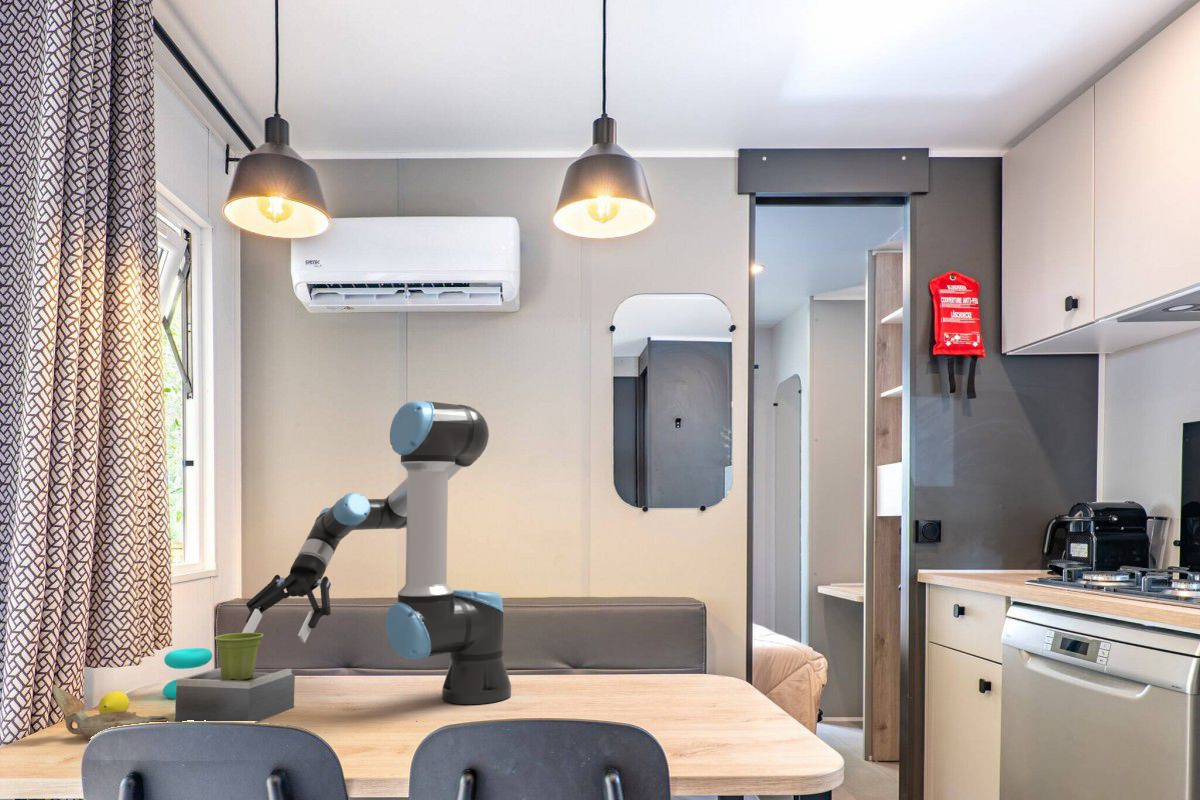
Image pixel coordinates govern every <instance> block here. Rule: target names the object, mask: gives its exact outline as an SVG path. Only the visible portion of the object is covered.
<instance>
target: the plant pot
mask: <svg viewBox="0 0 1200 800" xmlns="http://www.w3.org/2000/svg"><path fill="white" fill-rule="evenodd" d="M263 637H264V633H259V632H254V633H242V632H237V633H236V632H235V633H226V634H221V635H216V636H215V637H214V640H215V641H216V647H218V653H219V654H218V655H219V664H220V665H219V666H220V667H221V678H222V680H231V679H235V680H244V679H249V678H251V677H253V675H254V672H255V669H256V663H257V657H258V652H259V646H260V644H261V643H262V638H263ZM220 667H219V668H220Z"/></svg>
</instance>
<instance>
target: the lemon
mask: <svg viewBox="0 0 1200 800" xmlns="http://www.w3.org/2000/svg"><path fill="white" fill-rule="evenodd" d="M129 706H130V698H129V697H128V695H127V694H126V693H125V692H123V691H116V690H115V691H112V692H108V693H106V694H105V695H104V696H103V697H101V698H100V701H99V702H98V706H97V707H98V712H99V714H103V713H109V712H119V711H124V712H128V710H129V708H130V707H129Z"/></svg>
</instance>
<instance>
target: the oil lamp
mask: <svg viewBox="0 0 1200 800" xmlns="http://www.w3.org/2000/svg"><path fill="white" fill-rule="evenodd" d="M52 693H53V696H54V700H55V701H56V704H57V706H58V707H59V709H60V710H61V713H62V714H64V719H65V727H66V729H67V731H68V732H69V733H70V734H73V735H80V736H83V737H84V738H86V739H88V738H89V739H88V740H90V738H91V737H92V736H94V735H95V734H97V733H98V732H100V731H103V730H105V729H108V728H111V727H117V726H123V725H131V724H139V723H149V722H167V721H169V722H170V719H171V717H169V716H165V715H164V716H163V715H149V716H141V715H138V714H137V712H130V711H126V712H124V711H119V712H109V713H103V714H100V713H99V714H94V715H90V716H88V715H87V714H86V713H85V712H84V709H86V705H85V704H84V702H83V701H81V700H80V699H79V698H77V697H76V696H75V695H73V694H71V693H70V692H68V691H66V690H64V689H62V688H60V687H58V686H57V685H56V684H53V685H52ZM73 723H76V727H73Z"/></svg>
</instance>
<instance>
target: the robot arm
mask: <svg viewBox="0 0 1200 800" xmlns="http://www.w3.org/2000/svg"><path fill="white" fill-rule="evenodd" d="M489 435H490V434H489V426H488V423H487V421H486V418H485V417H484V416H483V415H482V414H481V413H480V412H479V411H478V410H477V409H476V408H474V407H471V406H469V405H465V404H453V403H445V402H436V401H428V400H422V401H419V400H418V401H417V400H414V401H409V402H406V403H404V404H403V405H401V406H400V407H399V409H398V411H397V412H396V413H395V415H394V416H393V418H392V421H391V424H390V428H389V444H390V445H391V449H392V450H393V451H394V453H396V454H398V455H399V456H400V465H401V466H402V467H403V468H404V469H405V470H406V472H407V477H406V478H405V479H403V481H402V482H401V483H400V484H399V485H398V486H397V487H395V489H394V490H393V491H392V492H391V493H390V494H389V495H387V497H385V498H367V497H366V496H365V495H364V494H360V493H359V492H357V491H356V492H353V491H352V492H349V493H346V494H345V495H344V496H342V497H341V498H340V499H338V500H337V501H336V502H335V504H333V505H332V506H331V507H326V508H324V509H322V510H321V511H320V513H319V515H318V516H317V517H316V519H315V520H314V523H313V526H312V527H311V530H309V533H308V535H307V537H306V539H305V540H304V542H303V544H302V546H301V548H300V550H299V552H298V553H297V556H296V558H294V561H293V563H292V565H291V567H290V570H289V574H288V575H287V576H286V577H281V576H280V574H276V575H274V577H273V578H272V579H271V581H270V582H269V583H267V585H266V586H265V587H264V588H262V589H261V590H260V591H258V592H257V594H255V595H254V596H253V597H252V598H251V599H250V600H249V601H248V602H246V604H245V606H246V607H247V609H248V610H249V614H248V616H247V618H246V619H245V622H246V625H245V626H244V627H243V630H242V632H241V633H255V631H256V629H257V628H258V625H259V623H260V621H261V620H262V618H263V615H262V613H264V612H265V611H267V610H269V609H271V607H272V606H274V605H276V604H278V603H279V602H280V601H282V600H284V599H285V600H286V599H288V598H289V597H291V598H292V597H293V598H294V597H295V598H296V597H299V598H304V596H307V599H308V601H309V602H310V605H311V607H312V610H309V612H308V613H307V616H306V618H305V620H304V622H303V624H301V625H302V626H301V627H300V630H299V632H298V634H297V637H298V638H299V640H300V642H301V643H302V644H306V642H307V639H308V638H309V635H310V634H311V631H312V629H315V628H316V627H317V625H318V623H319V621H320V618H321V617H323V616H327V617H328V616H330V615H331V614H332V612H331V601H330V587H331V585H332V584H331V581H330V579H329V578H328V576H324V574H326V573H325V572H326V570H327V568H328V566H329V564H330V562H331V560H332V558H333V556H334V554H335V551H336V550H337V548H338V546H339V544H340V542H341V541H342V540H343V539H344V538H345V537H347V535H349V534H350V533H351V532H352V531H361V530H362V531H364V530H366V531H367V530H385V529H387V530H390V529H395V530H400V529H405V528H406V542H405V543H406V544H405V545H406V546H405V547H406V548H405V552H406V554H405V584H404V585H403V587H402V588H401V589H400V590H398V592H397V602H395V603H394V604H392V605H391V606H390V607H389V608H388V612H387V613H386V616H385V631H386V636H387V638H388V643H389V644H390V646H391V647H392V649H393V651H394V652H395V654H397V655H398V656H400V657H401V658H403V659H406V660H416V659H421V660H422V659H423V660H424V659H426V658H428V657H429V658H430V657H435V656H440V655H446V654H450V662H449V665H448V670H447V673H446V676H445V678H444V682H443V685H442V688H441V689H442V690H441V692H442V695H441V699H442V700H443V701H444V702H446V703H450V704H457V705H480V704H481V705H482V704H488V703H489V704H490V703H496V702H500V701H504V700H506V699H509V698H510V697H511V696H512V684H511V681H510V676H509V674H508V672H507V671H508V670H507V667H506V665H505V662H504V613H505V611H504V606H503V604H504V603H503V598H502V596H501V595H500V594H499V593H498V592H492V591H481V590H463V589H452V588H451V586H450V585H449V584H448V582H447V580H448V579H447V575H448V574H447V573H448V571H447V567H448V566H447V565H448V563H447V562H448V507H449V506H448V499H449V498H448V496H449V495H448V494H449V493H448V492H449V487H448V486H449V480H450V479H451V478H452V477H454V475H456V474H458V473H457V472H459V471H460V470H461V469H462V468H469V467H470V466H472V465H473V464H474V463H475V462H476V461H477V460H479V458H480V457H481V456H482V454H483V453H484V451H485V450H486V448H487V446H488V444H489V439H490V438H489ZM317 587H319V588H320V597H321V598H320V600H321V607H320V606H319V603H318V602H317V599H316V597H315V595H314V592H313V591H314V590H315V589H316V588H317ZM285 590H286V591H285Z"/></svg>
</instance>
